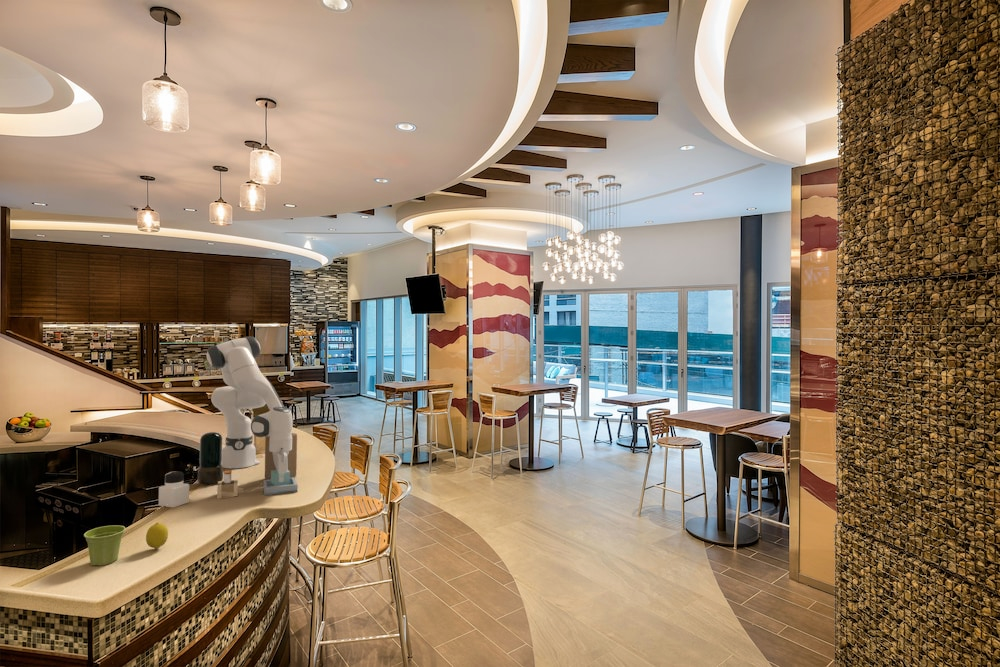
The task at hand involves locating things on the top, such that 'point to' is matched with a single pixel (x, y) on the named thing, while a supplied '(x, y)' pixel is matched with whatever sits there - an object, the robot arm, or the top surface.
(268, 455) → the block
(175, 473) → the medicine bottle
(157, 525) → the lemon
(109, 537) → the plant pot
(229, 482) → the cylinder
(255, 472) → the top surface
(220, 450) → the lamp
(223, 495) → the wide bore block
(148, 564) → the top surface
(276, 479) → the narrow bore block
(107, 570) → the top surface
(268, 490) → the tray
